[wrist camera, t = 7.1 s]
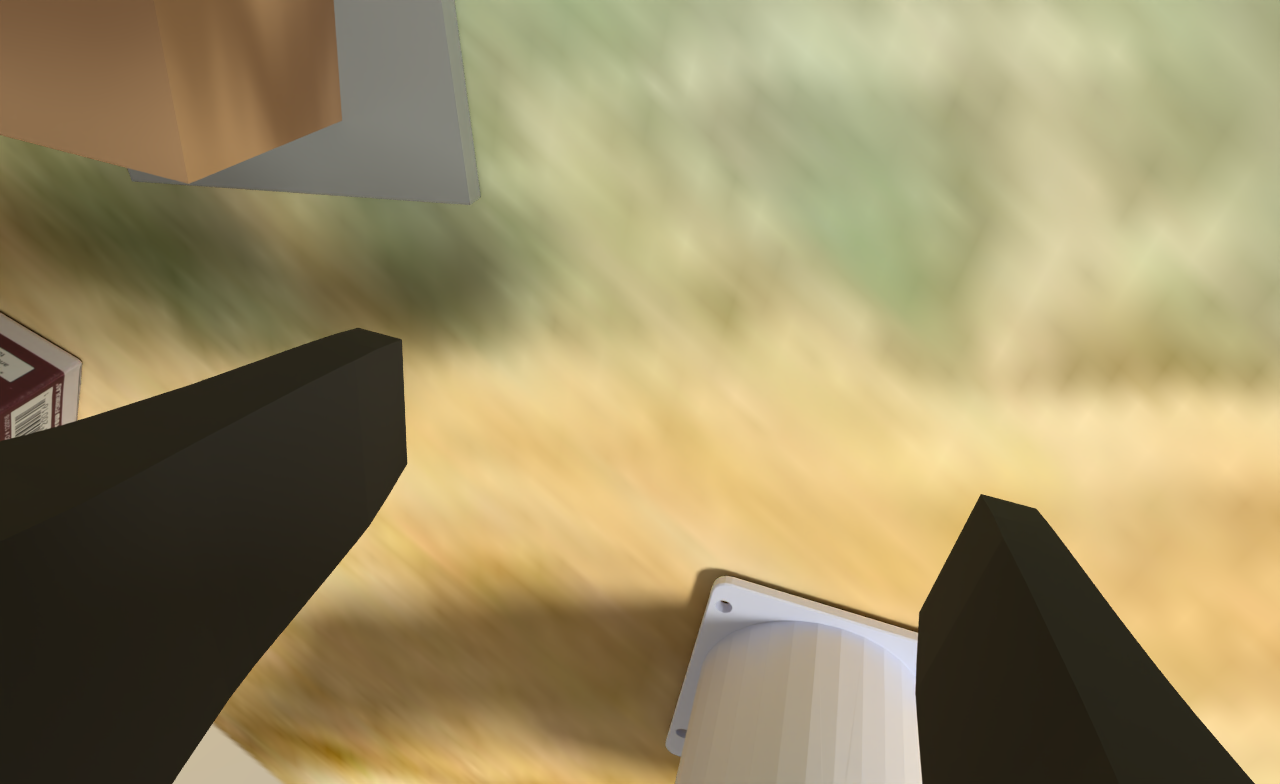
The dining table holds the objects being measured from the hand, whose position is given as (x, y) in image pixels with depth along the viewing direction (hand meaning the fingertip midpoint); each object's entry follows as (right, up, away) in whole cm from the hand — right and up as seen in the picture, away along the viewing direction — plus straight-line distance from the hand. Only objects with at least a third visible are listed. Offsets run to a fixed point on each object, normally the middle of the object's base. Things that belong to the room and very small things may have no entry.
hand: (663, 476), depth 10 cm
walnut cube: (-9, +10, +8) cm, 16 cm away
